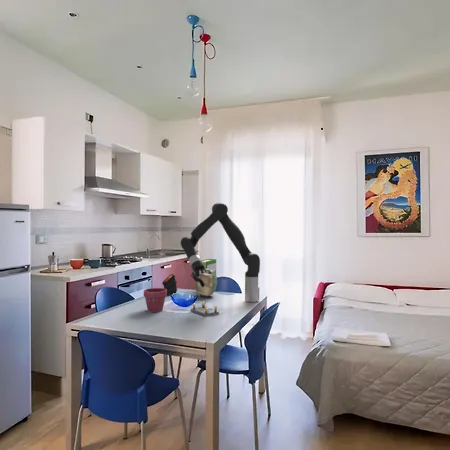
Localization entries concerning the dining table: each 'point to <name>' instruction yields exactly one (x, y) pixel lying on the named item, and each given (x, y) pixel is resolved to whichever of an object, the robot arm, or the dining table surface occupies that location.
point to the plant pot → (155, 299)
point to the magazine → (170, 285)
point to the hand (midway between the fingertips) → (206, 285)
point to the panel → (205, 284)
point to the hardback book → (210, 264)
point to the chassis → (204, 310)
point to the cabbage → (214, 282)
